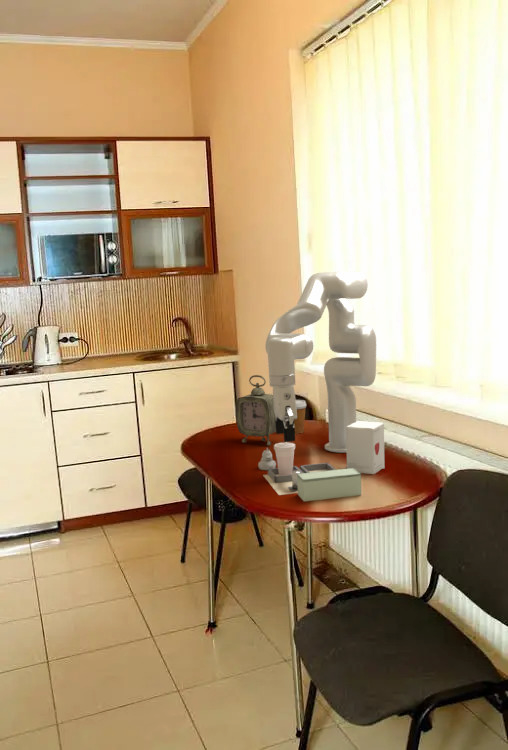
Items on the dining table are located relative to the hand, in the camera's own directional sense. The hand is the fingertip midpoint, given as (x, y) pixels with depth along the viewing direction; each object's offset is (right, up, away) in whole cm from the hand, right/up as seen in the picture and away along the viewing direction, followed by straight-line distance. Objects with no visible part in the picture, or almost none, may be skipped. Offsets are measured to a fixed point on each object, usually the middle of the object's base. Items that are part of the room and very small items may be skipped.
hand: (285, 437), depth 207 cm
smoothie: (0, -12, +2) cm, 12 cm away
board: (+6, -13, -3) cm, 15 cm away
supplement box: (+25, -12, +6) cm, 28 cm away
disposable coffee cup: (+7, -4, +63) cm, 64 cm away
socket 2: (+10, -11, +3) cm, 15 cm away
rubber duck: (-5, -12, +12) cm, 18 cm away
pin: (+3, -14, -10) cm, 17 cm away
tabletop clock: (-7, -7, +50) cm, 50 cm away
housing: (+11, -15, -17) cm, 25 cm away
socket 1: (0, -12, +1) cm, 12 cm away
